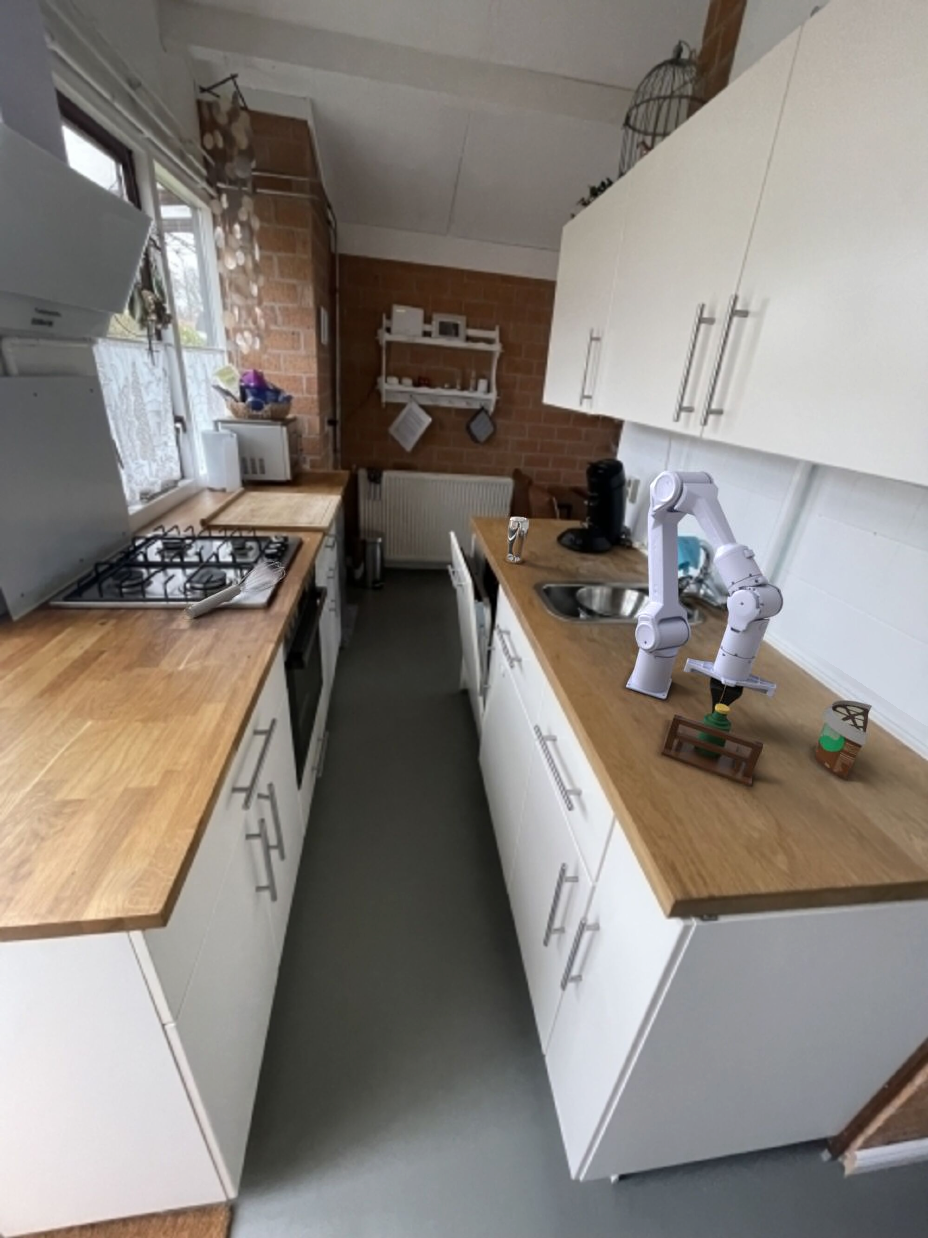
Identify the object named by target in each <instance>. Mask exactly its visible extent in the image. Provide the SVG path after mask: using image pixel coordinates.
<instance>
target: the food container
mask: <svg viewBox="0 0 928 1238" xmlns="http://www.w3.org/2000/svg"><path fill="white" fill-rule="evenodd" d="M872 707H873V705H871V704H868V703H864V702H861V701H856V700H848V699H842V700H841V699H840V700H836V701H834V702H832V703H831V704H829V705H828V706H827V708H826V709H825V710H824V711H823V713H822V718H823V720H824V723H823V725H822V729H821V732H820V735H819V738H818V740H817V743H816V746H815V749H814V752H813V757H814V759H815V761H816V762H817V764H819V766H821V767H822V768H823V769H824V770H826V772H828V773H830V774H832V775H833V776H835V777H837V778H839V779H840V780H841V779H842V780H845V779H846V778H847V776H848V774H849V773H850V770H851V769H852V766H853V764H854V763H855V761H856V759H857V757H858V755H859V753H860V752H861V749H862V748H863V746H864V745H865V743H866V741H867V738H868V736H869V733H868V732H867V728H868V723H869V715H870V711H871V709H872Z"/></svg>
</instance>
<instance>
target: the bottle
mask: <svg viewBox="0 0 928 1238" xmlns="http://www.w3.org/2000/svg"><path fill="white" fill-rule="evenodd" d="M730 711H731V708H730V707H729V706H726V705H724V704H716V706H715V711H714V713H707V714H704V716H703V719H702V721H701V723H702V724H705V725H708V726H711V727H715V728H718V729H721V730H724V731H727V732H730V733H731V730H732V728H733V724H732V722H731V721H730V720H729V719H728V718H727V717H728V714H730ZM697 738H698V739H701V740H704V741H707V742H710V743H713V744H716V745H719V746H722V747H724V746H725V744H726V741H727V740H725V739H722V738H719V737H716V736H713V735H710V734H707V733H704V732H701V731H699V733H698V736H697ZM695 748H696V749H697V750H698V751H699V752H700V753H701V754H703V755H705V756H708V757H713V758H716V757H720V756H721V754H718V753H715V752H712V751H709V750H706V749H703V748H701V747H698V746H695Z"/></svg>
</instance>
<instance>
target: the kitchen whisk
mask: <svg viewBox="0 0 928 1238" xmlns="http://www.w3.org/2000/svg"><path fill="white" fill-rule="evenodd" d="M272 562H273V563H272ZM265 563H268V565H266V564H265ZM269 563H270V560H268V561H264V562H262V563H260V564H259V565H257V566H256V567H255V568H253V569H252V570H250V572H249V573H247V574H246V575H245V576H244V577H243V578H242V579H241V580H240V581H239V582H238V583H237V584H233V585H231V586H229V587H227V588H224V589H223V590H221V591H219V592H217V593H214V594H213V595H211V596H208V597H205V599H204V598H203V600H200V601H199V602H196V603H194V604H192V605H190V606H187V607H186V608H185V610H183V611H182V612H181V618H182V620H187V621H189V620H193V619H194V618H195V617H198V616H200V615H202V614H204V613H206V612H208V611H210V610H212V609H214V608H216V607H218V606H220V605H222V604H224V603H226V602H227V601H229V600H232V599H234V598H235V597H237V596H239V595H241V593H242V592H243V593H247V592H250V590H251V592H254V591H256V589H257V588H258V589H257V591H260V590H264V589H267V588H270V587H272V586H274V585H275V584H277V583H278V582H279V581H280V580H281V579H283V578H284V577H285V575H286V571H285V570H283V569H285V566H282V563H281V562H279V561H273V560H271V563H270V564H269ZM263 564H264V565H263ZM274 565H275V567H278V568H274V569H272V570H269V571H267V572H265V573H263V574H260V575H259V576H257V577H254V576H255V575H257V574H258V573H260V572H261V571H264V569H266V568H269V567H270V566H274ZM262 567H263V568H262ZM259 568H262V569H261V570H259V571H257V570H258V569H259ZM275 570H277V571H275ZM255 571H257V572H256V573H255V574H253V575H252V576H250V577H248V576H249V575H251V574H252V573H253V572H255ZM273 571H274V572H273ZM282 571H283V572H282ZM270 572H273V573H271V574H269V575H267V576H265V577H263V578H260V577H261V576H264V575H265V574H268V573H270ZM279 573H280V578H278V579H277V580H275V581H273V582H271V581H272V580H273V578H271V579H269V580H268V581H266V582H264V583H261V584H260V585H257V586H254V587H250V588H247V589H244V588H245V587H248V586H250V585H253V584H254V583H257V582H260V581H261V580H263V579H266V578H268V577H271V576H272V575H275V576H274V578H276V577H277V576H278V574H279ZM283 573H284V574H283ZM282 575H283V576H282ZM247 577H248V579H246V580H245V578H247ZM253 577H254V578H253ZM251 578H253V579H251ZM257 578H260V579H258V580H256V579H257ZM250 579H251V580H250ZM244 580H245V581H244ZM254 580H256V581H254ZM242 581H244V582H242ZM252 581H254V582H252ZM251 582H252V583H251ZM269 582H270V583H269ZM248 583H249V584H248ZM268 585H269V586H268ZM264 586H266V587H264ZM261 587H263V588H261ZM241 589H243V590H241ZM253 589H254V590H253ZM184 612H185V613H186V615H187V616H188V617H189V618H184V616H183V613H184Z"/></svg>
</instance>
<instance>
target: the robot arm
mask: <svg viewBox="0 0 928 1238" xmlns="http://www.w3.org/2000/svg"><path fill="white" fill-rule="evenodd" d="M718 495H719V487H718V486H717V484H716V483H715V480H714V478H713V476H712V475H711V474H710V473H709V472H707V471H705V470H698V471H685V470H684V471H681V470H679V471H678V470H677V471H676V470H670V469H669V470H667V469H666V470H663V471H662V472H661V473H659V474H658V475H657V476H656V478H655V479H654V480H653V481H652V483H651V484H650V485H649V502H650V505H649V509H648V513H647V560H648V562H647V563H648V565H647V566H648V604H647V605H646V606H645V607H644V608H643V609H642V610H641V611H640V612H639V614H638V619H637V620H638V622H637V625H636V627H635V633H634V637H635V640H636V643H637V647H638V648H639V649H638V653H637V658H636V661H635V665H634V668H633V671H632V673H631V675H630V677H629V679H628V680H627V683H626V685H625V687H626V688H627V689H629V690H633V691H636V692H639V693H642V694H645V695H648V696H651V697H655V698H658V699H661V700H666V699H667V696H668V694H669V690H670V687H671V684H672V681H673V679H672V678H671V676H672V672H673V670H674V666H675V663H676V659H677V655H678V653H679V652H681V648H682V647H684V646H686V645H687V644H688V643H689V642H690V641H691V638H692V627H691V625H690V623H689V620H688V611H687V610H686V609H685V608H684V607H683V606H682V605H681V604H680V602H679V536H678V535H679V533H678V532H679V531H678V529H679V527H678V525H679V522H681V521H682V520H683V518H685V517H686V516H687V515H690V516H693V517H694V518H695V519H696V521H697V523H698V524H699V525H700V527H701V529H702V531H703V532H704V533H705V536H706V538H707V539H708V540H709V542H710V544H711V545H712V547H713V549H714V551H715V556H714V557H713V561H712V562H713V564H714V566H715V568H716V570H717V571H718V575H719V576H720V578H721V580H722V582H723V584H724V586H725V589H726V590H727V592H728V594H729V596H728V597H727V598H726V599H727V600H726V604H727V605H726V606H727V611H728V617H727V621H726V622H727V625H726V627H725V630H724V631H725V632H724V634H723V638H722V640H721V643H720V646H719V649H718V653H717V655H716V658H715V661H714V662H711V661H703V660H697V659H692V658H690V657H689V658H687V660H686V663H685V667H684V669H683V672H684V673H688V674H690V673H693V674H696V675H700V676H704V677H708V678H710V679H709V690H710V696H711V713H714V711H715V706H716V704H724V705H726V706H728V707H729V706H731V705H732V704H733V703H734V702H735V701H737V700H738V699H740V697H742V695H743V692H744V688H745V689H748V690H751V691H754V692H757V693H761V694H765V696H767V697H769V698H774V696H775V693H776V691H777V683H776V682H772V681H770V680H768V679H765V678H763V677H760V676H757V675H755V674H753V673H751V671H752V669H753V666H754V664H755V661H756V658H757V656H758V652H759V650H760V647H761V645H762V642H763V639H764V637H765V634H766V631H767V628H768V626H769V623H770V621H771V620H770V619H771V618H772V617H773V618H774V617H775V616H777V615H778V614H779V613H780V612H781V611H782V610H783V607H784V597H783V593H782V590H781V588H780V587H779V586H778V585H776V584H774V583H771V582H769V580H768V579H767V577H766V576H764V574H763V572H762V571H761V569H760V567H759V565H758V564H757V562H756V559H755V558H754V557H756V554H755V552H754V551H753V549H749V547H748V546H747V545H745V544H742V543H738V542H737V541H736V538H735V535H734V533H733V530H732V529H731V526H730V524H729V521H728V518H727V517H726V515H725V513H724V512H725V511H724V510H723V508H722V506H721V503H720V501H719V498H718ZM711 713H710V714H711Z"/></svg>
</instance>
